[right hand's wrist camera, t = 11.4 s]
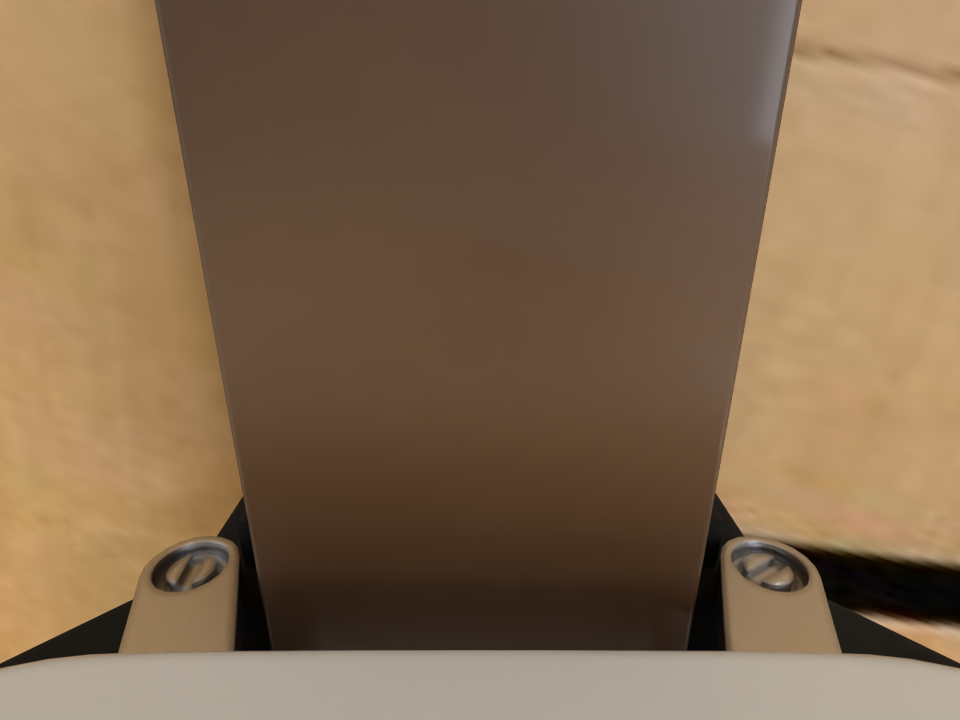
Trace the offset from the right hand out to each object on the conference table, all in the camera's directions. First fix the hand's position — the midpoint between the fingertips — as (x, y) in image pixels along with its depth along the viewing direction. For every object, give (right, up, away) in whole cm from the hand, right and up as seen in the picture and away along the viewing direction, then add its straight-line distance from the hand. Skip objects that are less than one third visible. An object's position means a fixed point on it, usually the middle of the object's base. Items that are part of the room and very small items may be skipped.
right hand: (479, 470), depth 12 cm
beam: (0, +32, -11) cm, 34 cm away
